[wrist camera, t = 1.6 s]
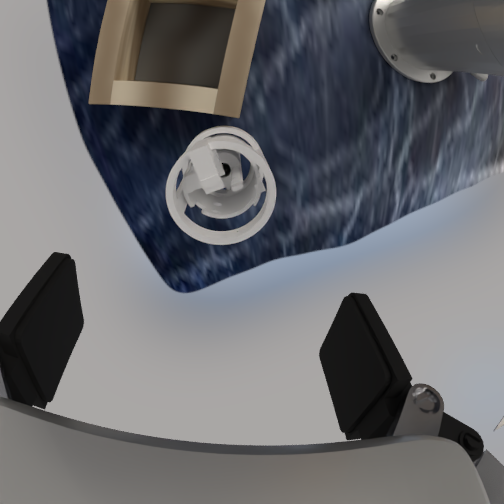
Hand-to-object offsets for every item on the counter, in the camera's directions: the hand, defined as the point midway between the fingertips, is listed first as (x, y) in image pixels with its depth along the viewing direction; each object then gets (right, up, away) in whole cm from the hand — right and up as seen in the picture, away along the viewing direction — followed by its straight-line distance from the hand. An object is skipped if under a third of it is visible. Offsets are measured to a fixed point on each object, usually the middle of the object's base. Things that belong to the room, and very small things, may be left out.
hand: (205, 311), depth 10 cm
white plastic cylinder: (-1, +12, +22) cm, 25 cm away
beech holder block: (-5, +23, +15) cm, 28 cm away
